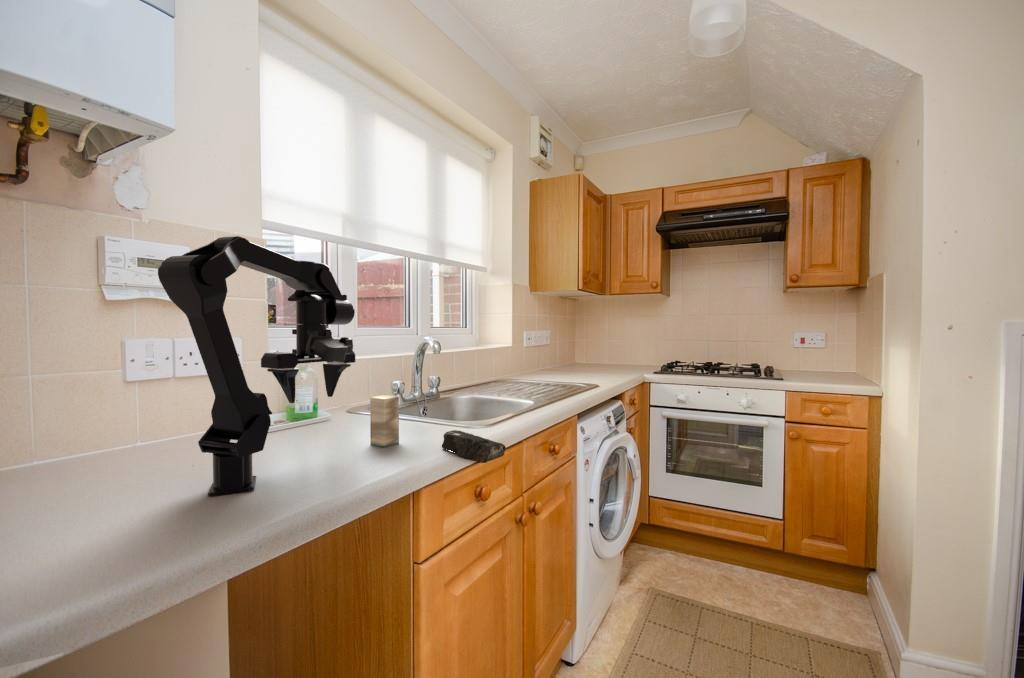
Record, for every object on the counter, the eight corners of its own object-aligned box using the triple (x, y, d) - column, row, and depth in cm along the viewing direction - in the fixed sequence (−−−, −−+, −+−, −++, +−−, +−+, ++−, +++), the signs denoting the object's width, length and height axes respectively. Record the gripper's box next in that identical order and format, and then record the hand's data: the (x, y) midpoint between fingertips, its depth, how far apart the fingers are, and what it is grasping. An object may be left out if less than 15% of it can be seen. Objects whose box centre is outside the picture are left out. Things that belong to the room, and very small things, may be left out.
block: (384, 447, 102) (384, 399, 102) (370, 444, 105) (370, 397, 104) (398, 443, 106) (398, 396, 106) (385, 440, 109) (385, 394, 108)
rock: (489, 465, 91) (489, 444, 91) (433, 452, 100) (433, 433, 100) (511, 456, 98) (512, 436, 98) (457, 444, 107) (457, 426, 107)
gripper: (297, 325, 82) (297, 411, 82) (373, 325, 98) (373, 397, 99) (258, 324, 87) (259, 405, 88) (337, 324, 104) (337, 392, 104)
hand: (311, 399), depth 94 cm, fingers open, 9 cm apart
